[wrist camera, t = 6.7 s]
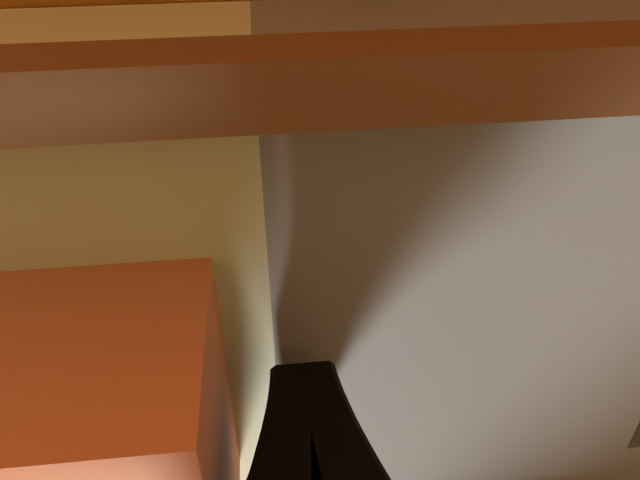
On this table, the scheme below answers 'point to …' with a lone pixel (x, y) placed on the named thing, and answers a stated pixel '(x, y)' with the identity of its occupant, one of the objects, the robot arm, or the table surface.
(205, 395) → the block
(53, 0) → the table surface
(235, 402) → the grey long tray
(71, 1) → the table surface
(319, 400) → the robot arm
